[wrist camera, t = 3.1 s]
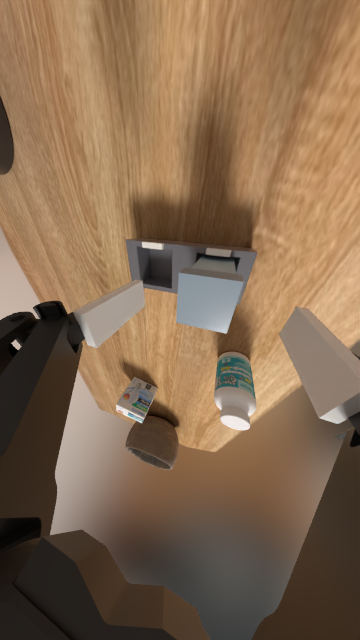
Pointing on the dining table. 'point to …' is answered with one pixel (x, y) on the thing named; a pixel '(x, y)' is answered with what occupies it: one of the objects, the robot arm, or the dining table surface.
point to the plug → (208, 293)
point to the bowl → (154, 442)
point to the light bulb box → (136, 399)
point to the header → (179, 261)
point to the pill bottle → (234, 390)
